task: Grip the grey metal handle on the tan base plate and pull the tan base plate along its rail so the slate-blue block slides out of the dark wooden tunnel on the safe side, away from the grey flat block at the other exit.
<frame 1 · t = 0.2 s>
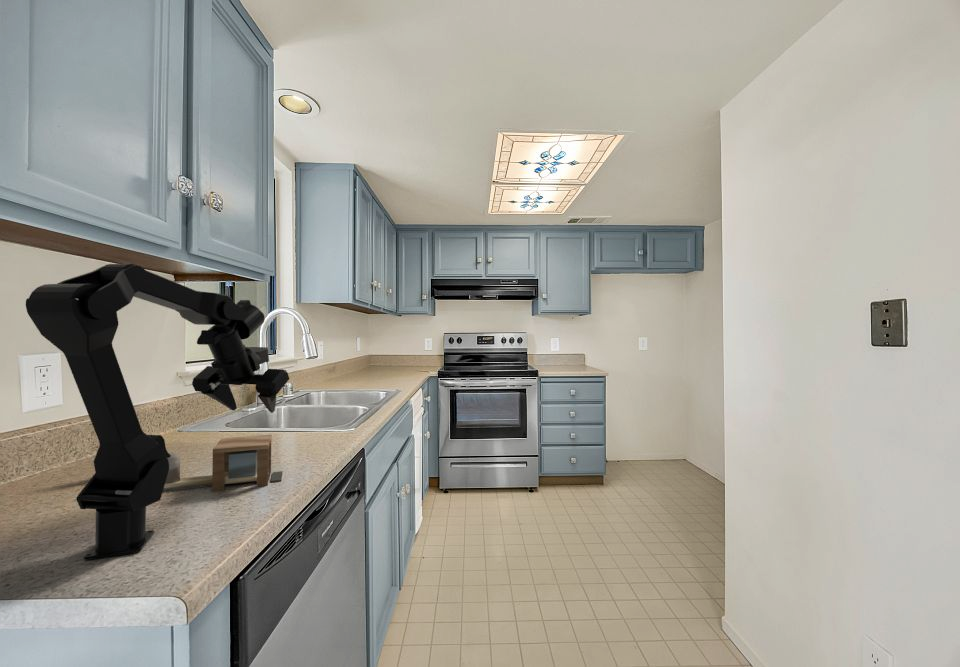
hand: (253, 410, 94), 15 cm above the worktop, tool tilted 30°, fingers open, 9 cm apart
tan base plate: (214, 465, 90), point 4 cm above the worktop, slide at 0.0 cm
rail: (183, 487, 88), on the worktop
grey flat block: (276, 477, 95), on the worktop
tunnel: (243, 480, 92), on the worktop
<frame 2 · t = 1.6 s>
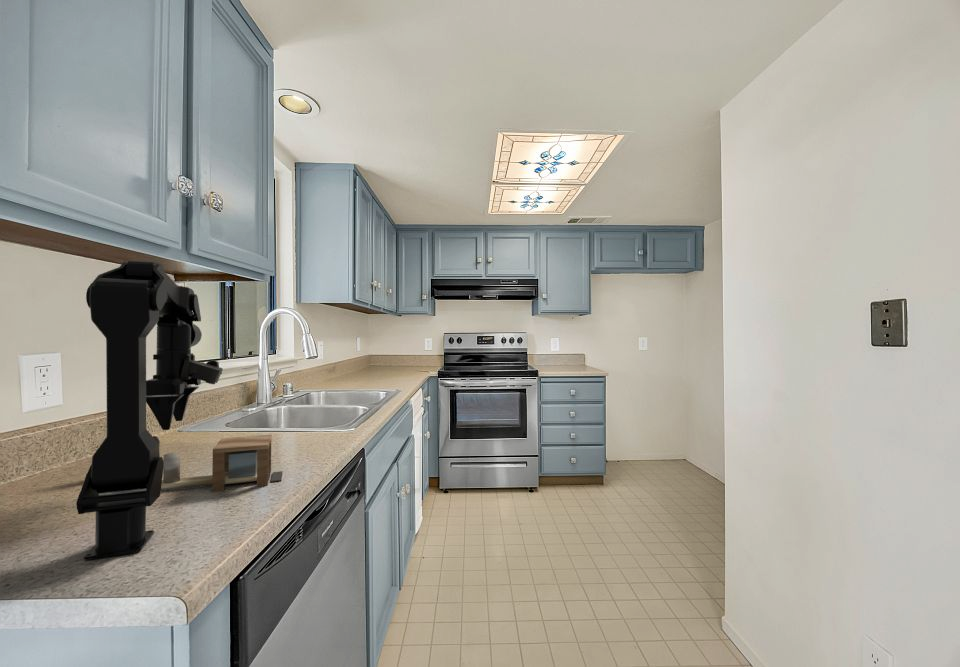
hand: (173, 425, 87), 13 cm above the worktop, tool pointing down, fingers open, 9 cm apart
nothing on the worktop moved.
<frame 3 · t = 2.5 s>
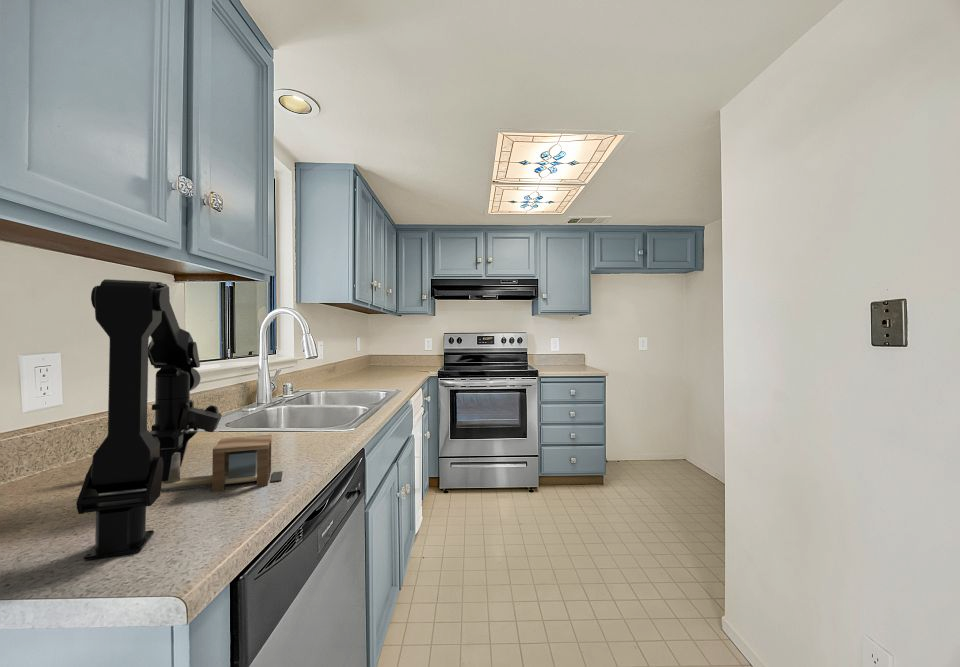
hand: (171, 473, 87), 3 cm above the worktop, tool pointing down, fingers open, 9 cm apart
nothing on the worktop moved.
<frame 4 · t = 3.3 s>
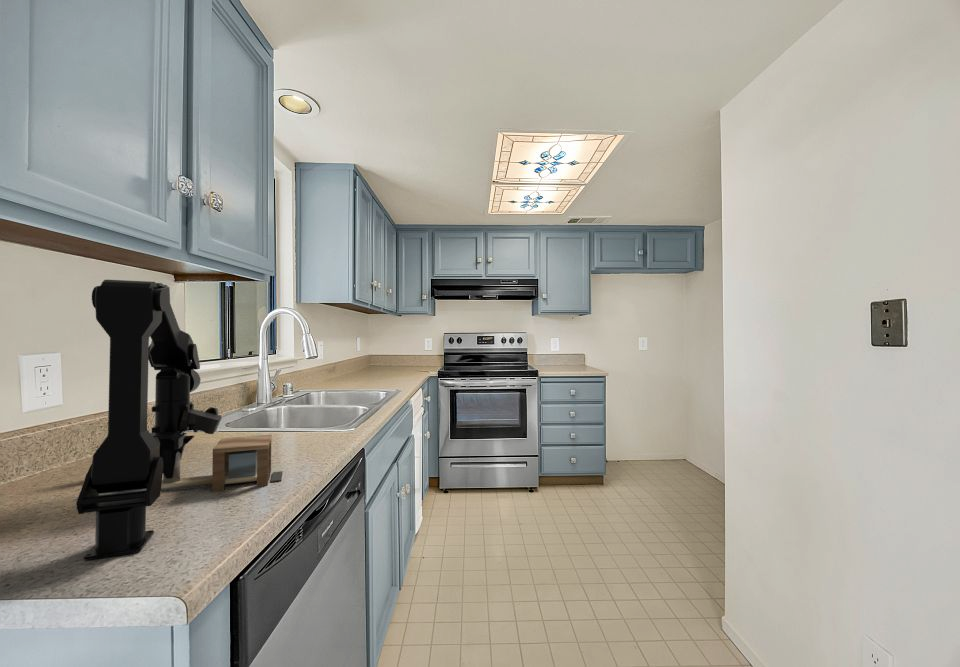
hand: (171, 475, 87), 3 cm above the worktop, tool pointing down, fingers closed on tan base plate, 3 cm apart
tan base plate: (214, 465, 90), point 4 cm above the worktop, slide at 0.0 cm, touching gripper
everything else where it was.
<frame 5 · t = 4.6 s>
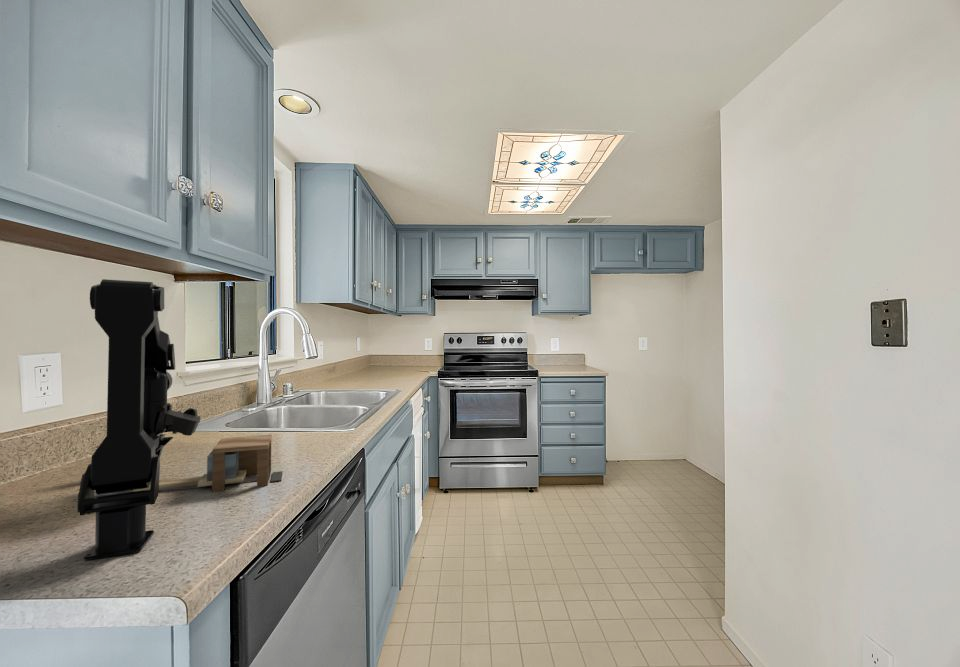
hand: (148, 478, 86), 3 cm above the worktop, tool pointing down, fingers closed on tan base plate, 3 cm apart
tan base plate: (192, 467, 89), point 4 cm above the worktop, slide at 3.9 cm, touching gripper
everything else where it was.
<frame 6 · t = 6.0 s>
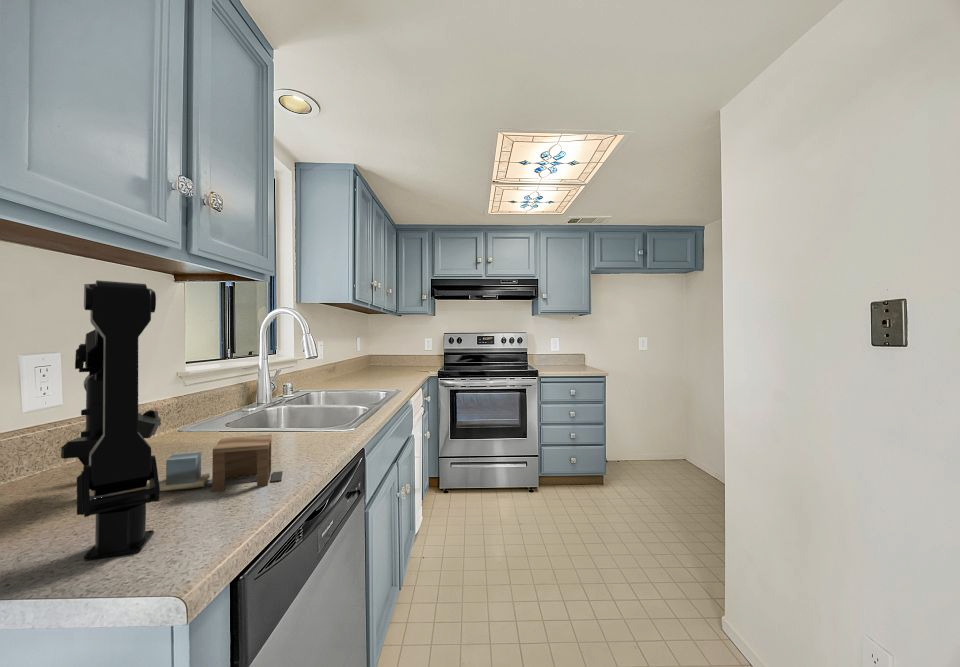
hand: (104, 482, 83), 3 cm above the worktop, tool pointing down, fingers closed on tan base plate, 3 cm apart
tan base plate: (151, 471, 86), point 4 cm above the worktop, slide at 10.8 cm, touching gripper
everything else where it was.
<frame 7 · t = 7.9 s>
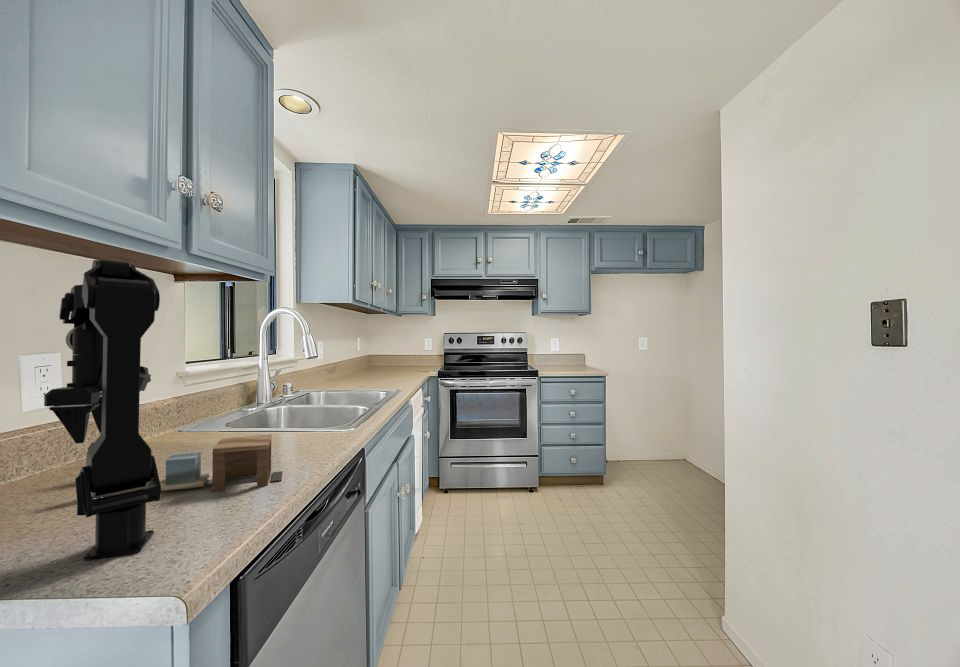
hand: (92, 437, 80), 12 cm above the worktop, tool pointing down, fingers open, 9 cm apart
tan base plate: (151, 471, 86), point 4 cm above the worktop, slide at 10.9 cm
everything else where it was.
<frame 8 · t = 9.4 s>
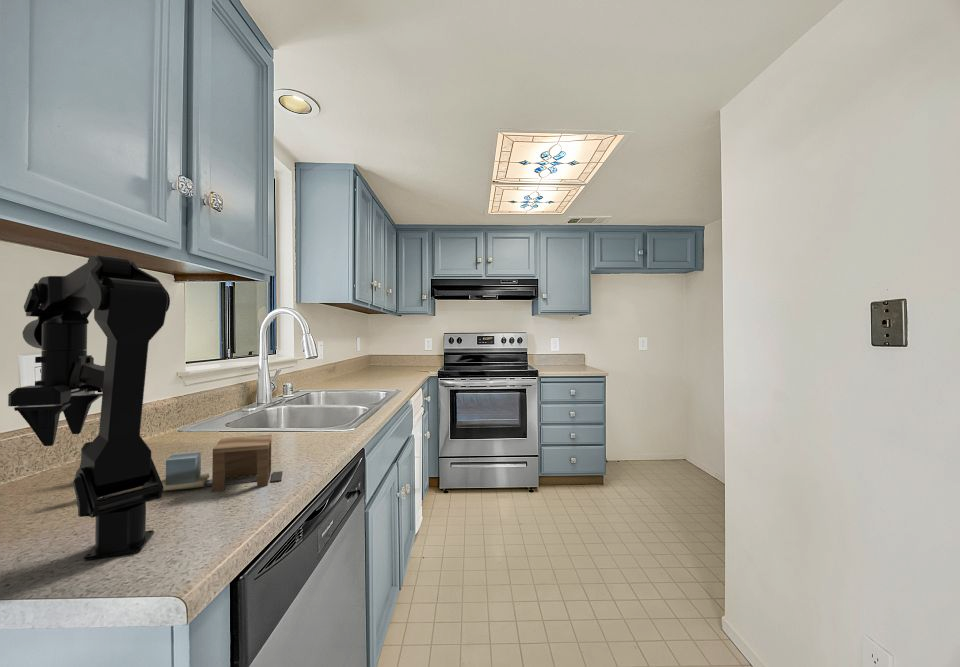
hand: (63, 439, 74), 13 cm above the worktop, tool pointing down, fingers open, 9 cm apart
nothing on the worktop moved.
at the end: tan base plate slide at 10.9 cm; the gripper is holding nothing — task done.
